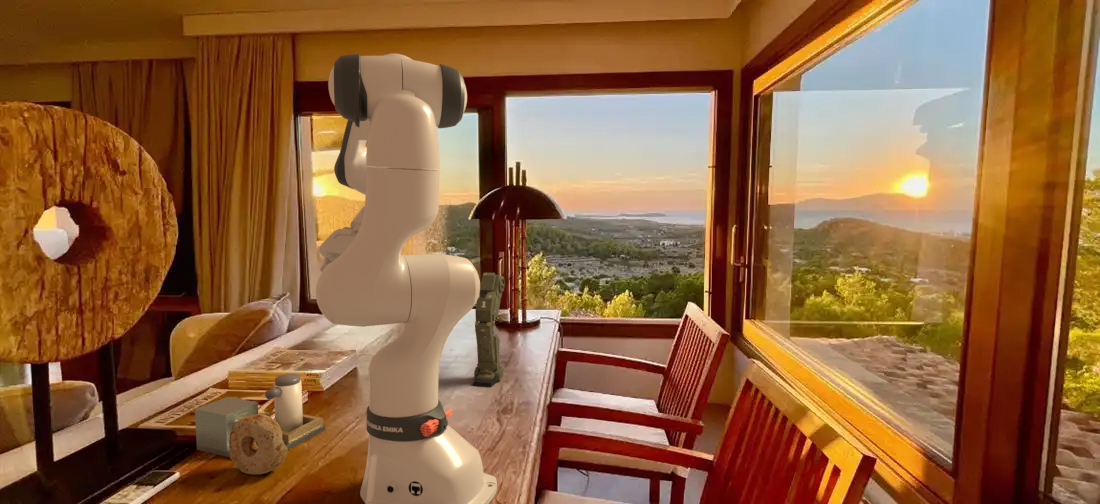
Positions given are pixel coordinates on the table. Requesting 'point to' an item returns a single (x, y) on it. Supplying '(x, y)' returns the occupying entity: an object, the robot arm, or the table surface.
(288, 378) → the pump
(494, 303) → the mechanical leg
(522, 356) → the table surface
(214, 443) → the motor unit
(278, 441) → the stone disc
